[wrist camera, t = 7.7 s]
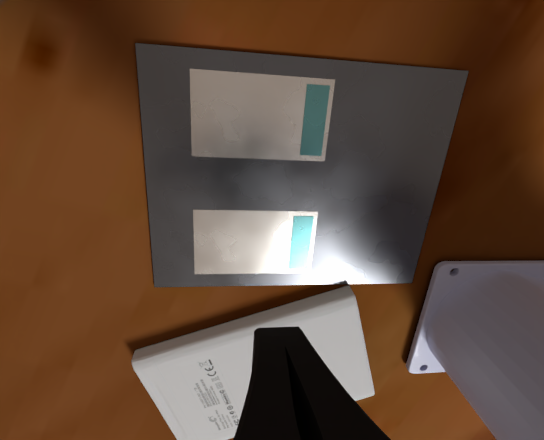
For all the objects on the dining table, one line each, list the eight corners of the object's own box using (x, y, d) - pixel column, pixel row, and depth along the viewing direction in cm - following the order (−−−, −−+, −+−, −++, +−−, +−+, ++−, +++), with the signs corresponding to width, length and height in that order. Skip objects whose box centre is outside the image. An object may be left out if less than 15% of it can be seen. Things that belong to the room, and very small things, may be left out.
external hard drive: (366, 376, 23) (188, 432, 22) (345, 279, 19) (136, 342, 19) (376, 398, 21) (185, 457, 21) (356, 296, 18) (128, 365, 18)
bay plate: (467, 71, 15) (469, 71, 15) (410, 282, 19) (412, 283, 19) (135, 43, 13) (135, 42, 13) (154, 286, 17) (154, 287, 17)
